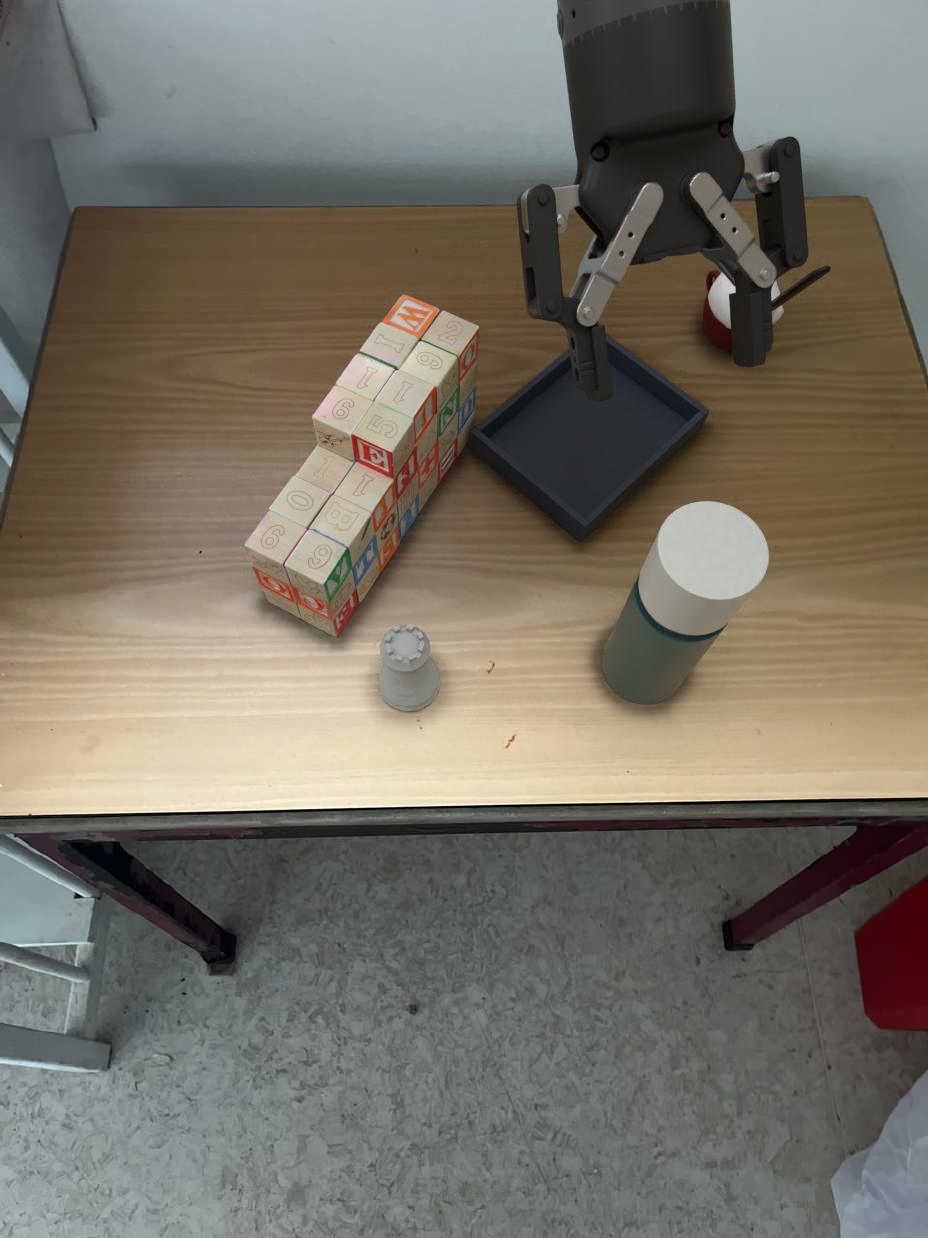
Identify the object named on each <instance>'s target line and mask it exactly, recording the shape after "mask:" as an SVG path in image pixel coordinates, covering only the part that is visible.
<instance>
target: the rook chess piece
mask: <svg viewBox="0 0 928 1238" xmlns="http://www.w3.org/2000/svg"><path fill="white" fill-rule="evenodd" d="M379 651H380V652H379V653H380V656H381V659H382V660H383V662H382V663H381V666H380V668H379V671H378V674H377V675H378V678H377V679H378V681H377V682H378V691H379V692H380V695H381V697H382V699H383V701H385V702H386V703H387V704H388V705H390V706H391V707H392V708H393V709H397V710H400V711H403V712H411V711H412V712H413V711H418V710H421V709H423V708H425V707H427V706H429V705H430V703H431V702H433V700H434V699H435V698H436V697H437V696H438V693H439V690H440V687H441V677H440V675H441V674H440V671H439V668H438V666H437V664H436V662H435V660H434V659H433V658H432V657H431V656H430V653H431V651H432V650H431V641H430V639H429V637H428V635H427V634H426V632H424V631H423V630H422V629H421V628H419V626H415V625H412V624H410V623H409V624H408V623H406V624H398V625H395V626H393V627H392V628H389V630H388V631H386V633H385V634H384V635H383V636H382V638H381V641H380V644H379Z"/></svg>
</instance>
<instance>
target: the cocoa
mask: <svg viewBox="0 0 928 1238" xmlns="http://www.w3.org/2000/svg"><path fill="white" fill-rule="evenodd" d="M831 269H832V267H831V266H830V265H827V264H826V265H824V266H821V267H819V268H816V269H814V270H812V271H811V272H809V273H808V274H807V275H805V276H804V277H802V278H801V279H799V280H798V281H797V282H795V283H794V284H793V285H791V286H790V287H789V288H787V289H786V290H784V291H783V292H780V289H779V286H778V283H777V280H776V281H775V282H774V284H773V286H772V290H771V300H772V322H773V327H774V326H775V325H776V323H777V322H778V320H779V319H780V318H781V317H782V315H783V314H784V312H785V310H784V307H783V305H784V304H786V303H787V302H789V301H790V300H791V299H793V298H794V297H795V296H798V294H800V293H801V292H803V291H805V290H806V289H807V288H808V287H810V286H811V285H813V284H814V283H815V282H817V281H818V280H820V279H821V278H822V277H824V276H826V275H828V273H830V272H831ZM705 278H706V280H705V284H706V285H705V286H706V291H707V293H706V295H705V298H704V303H703V307H702V308H703V309H702V310H703V311H702V318H701V319H702V320H701V326H702V328H703V330H704V333H705V334H706V337H707V339H708V340H709V341H710V342H711V343H713V344H714V345H715V346H716V347H718V348H719V349H723V350H726V351H728V352H732V338H731V322H730V306H729V294H731V293H736V290H735V286H734V285H733V284H732V283H731V282H730V281H729V279H728V278H727V277H726V276H725V275H724V274H723V272H722V271H721V272H720V270H718V269H714V270H711V271H709V272H708V273H707V275H706V277H705Z"/></svg>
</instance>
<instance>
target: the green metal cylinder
mask: <svg viewBox="0 0 928 1238" xmlns="http://www.w3.org/2000/svg"><path fill="white" fill-rule="evenodd" d="M639 575H640V572H639V574H638V575H637V578H636V580H635V582H634V583H633V586H632V588H631V590H630V592H629V595H628V596H627V599H626V601H625V603H624V605H623V608H622V610H620V611H621V612H620V613H619V616H618V618H617V620H616V622H615V624H614V626H613V628H612V631H611V633H610V635H609V637H608V639H607V640H606V644H605V645H604V648H603V650H602V654H601V659H600V660H601V663H600V664H601V670H602V674H603V677H604V680H605V682H607V684H608V685H609V687H610V689H612V691H614V693H616V694H617V695H618V696H619V697H621V698H622V699H624V700H627V701H629V702H632V703H634V704H640V705H652V704H657V703H661V702H663V701H665V700H667V699H668V698H670V697H671V696H672V695H673V694H675V692H676V691H677V690H678V689H679V687H680V686H681V685H682V684H683V682H684V681H685V680H686V678H687V677H688V676H689V674H690V673H691V672H692V671H693V669H695V667H696V665H697V664H698V663H699V662H700V660H701V659H702V658H703V657H704V655H705V654H706V653H707V652H708V650H709V649H710V648H711V646H712V645H713V644H714V642H716V640H717V638H718V637H719V636H720V635H721V633H723V631H724V630H725V629H726V627H727V626H728V625H729V623H730V622H728V623H727V624H726V625H725V626H724V627H722V628H721V629H719V630H717V631H715V632H712V633H709V634H704V635H686V634H681V633H678V632H674V631H672V630H670V629H668V628H666V627H664V626H663V625H661V624H660V623H659V622H657V621H656V620H655V619H654V618H653V617H652V616H651V615H650V613H649V612H648V611H647V609H646V608H645V606H644V604H643V602H642V600H641V597H640V593H639Z"/></svg>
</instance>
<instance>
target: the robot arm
mask: <svg viewBox="0 0 928 1238" xmlns="http://www.w3.org/2000/svg"><path fill="white" fill-rule="evenodd" d="M556 7H557V13H556V27H557V33H558V36H559V38H560V41H561V46H562V47H561V48H562V55H563V63H564V72H565V81H566V88H567V96H568V97H567V98H568V105H569V112H570V114H569V115H570V121H571V122H570V123H571V130H572V137H573V138H572V139H573V147H574V152H575V156H576V161H577V162H576V164H577V167H576V175H575V179H574V181H573V184H571V185H562V186H555V187H551V186H550V185H549V184H546V183H540V184H537V185H535V186H532V187H530V188H528V189H525V190H523V191H522V192H520V193H519V195H518V197H517V199H516V213H517V223H518V235H519V245H520V255H521V266H522V278H523V289H524V299H525V309H526V312H527V314H528V316H529V317H530V318H531V319H534V320H540V321H546V322H552V323H556V324H559V325H561V326H562V327H563V329H564V330H565V332H566V336H567V344H568V349H569V352H570V359H571V366H572V374H573V381H574V383H575V385H576V387H577V388H578V390H580V391H584V392H586V395H587V397H588V399H589V400H593V401H596V402H600V401H605V400H609V399H611V398H612V383H611V375H610V366H609V358H608V349H607V341H606V334H607V332H606V325H605V324H599V319H600V318H601V316H602V314H603V312H604V309H605V307H606V305H607V303H608V302H609V299H610V297H611V295H612V293H613V291H614V289H615V288H616V287H617V286H618V285H619V284H620V283H621V282H622V280H623V278H624V276H625V274H626V272H627V270H628V268H629V267H630V266H636V265H637V266H638V265H646V264H651V263H655V262H659V261H661V260H663V259H665V258H667V257H679V256H687V255H693V254H697V253H700V254H701V255H702V256H703V257H704V258H705V259H707V260H708V261H710V262H712V263H713V264H714V265H716V266H717V268H718V269H719V271H721V273H722V272H723V274H724V275H725V276H726V277H727V278H728V279H729V281H730V282H731V283H732V284H733V285H734V286H735V290H736V293H731V294H729V306H730V322H731V338H732V351H731V352H732V361H733V363H734V365H735V366H737V367H743V368H744V367H745V368H753V367H758V366H762V365H764V364H765V363H766V360H767V359H766V358H767V353H769V352H771V350H772V347H773V343H774V326H773V322H772V300H771V290H772V286H773V284H774V282H775V281H776V282H777V280H778V279H779V278H780V277H782V276H783V275H785V274H786V273H788V272H789V271H791V270H793V269H797V268H800V267H803V266H804V265H805V264H806V263H807V261H808V258H809V242H808V228H807V227H808V226H807V218H806V216H807V215H806V205H805V203H806V202H805V192H804V190H805V189H804V180H803V179H804V178H803V165H802V156H801V155H802V154H801V144H800V142H799V140H798V139H797V138H796V137H794V136H785V137H781V138H777V139H772V140H771V141H767V142H765V143H763V144H760V145H758V146H757V147H755V148H752V149H748V150H745V151H742V150H741V148H740V147H739V145H738V142H737V140H736V138H735V132H734V123H735V115H736V109H737V103H736V102H737V101H736V99H737V98H736V84H735V83H736V82H735V81H736V80H735V67H734V66H735V65H734V47H733V29H732V12H731V9H732V8H731V0H556ZM743 179H744V181H745V186H746V187H747V189H748V191H749V192H750V193H751V194H752V195H754V200H755V210H756V211H755V212H756V221H757V230H758V240H759V241H758V242H759V245H758V243H756V242H757V241H756V235H755V233H754V231H753V229H751V228H750V226H749V225H748V224H747V223H746V222H745V220H744V219H743V218H742V216H741V215H740V214H739V212H737V211H736V209H735V208H734V206H732V201H733V199H734V197H735V194H736V193H737V190H738V189H739V187H740V184H741V182H742V180H743ZM573 210H575V212H576V214H577V216H579V217H580V219H581V220H582V221H583V222H584V224H586V226H587V227H588V228H589V229H590V230H591V231H592V232H593V234H594V235H593V236H592V239H591V240H590V243H589V245H588V247H587V249H586V252H585V253H584V256H583V257H582V259H581V262H580V264H579V266H578V269H577V277H576V279H575V281H574V283H573V285H572V287H571V290H570V292H569V293H568V295H567V296H565V295H564V291H563V288H564V287H563V277H562V263H561V250H560V240H559V237H560V236H559V235H561V234H564V233H565V231H566V230H567V228H568V226H569V217H570V214H571V212H572V211H573Z"/></svg>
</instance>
